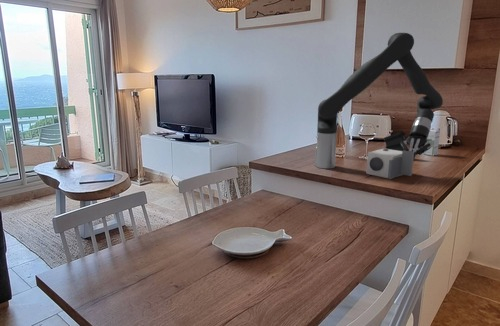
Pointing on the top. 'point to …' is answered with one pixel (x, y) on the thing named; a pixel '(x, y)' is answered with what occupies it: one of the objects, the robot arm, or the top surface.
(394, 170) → the side door
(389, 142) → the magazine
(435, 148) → the syrup box
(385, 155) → the knobbed white box
